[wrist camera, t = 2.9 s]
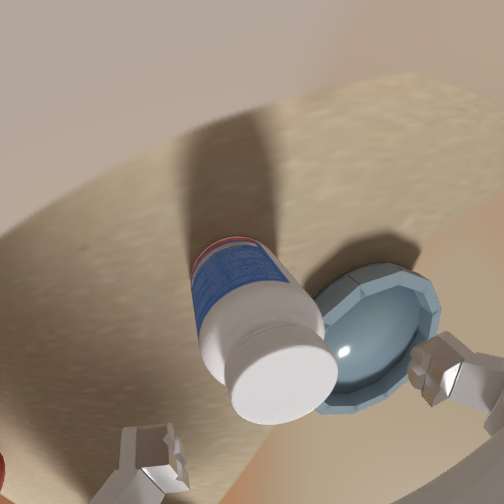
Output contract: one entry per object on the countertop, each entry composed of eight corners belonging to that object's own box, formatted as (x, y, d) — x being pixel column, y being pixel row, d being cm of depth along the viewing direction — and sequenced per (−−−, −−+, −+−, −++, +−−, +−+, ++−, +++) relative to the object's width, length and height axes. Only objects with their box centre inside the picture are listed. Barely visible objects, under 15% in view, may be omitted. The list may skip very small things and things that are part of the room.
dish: (413, 366, 26) (425, 378, 24) (293, 415, 24) (301, 432, 22) (429, 245, 22) (448, 254, 20) (277, 289, 20) (288, 305, 18)
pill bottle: (173, 292, 18) (176, 415, 9) (222, 216, 17) (269, 295, 9) (246, 328, 20) (294, 444, 11) (294, 263, 19) (380, 354, 10)
